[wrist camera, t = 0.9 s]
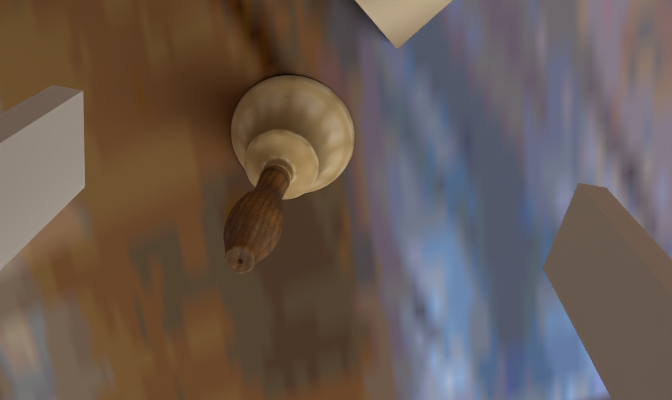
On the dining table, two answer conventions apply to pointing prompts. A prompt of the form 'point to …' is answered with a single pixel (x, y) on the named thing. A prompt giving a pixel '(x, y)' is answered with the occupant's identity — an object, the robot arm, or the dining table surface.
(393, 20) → the stand
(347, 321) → the dining table surface
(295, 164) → the hand bell
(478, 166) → the dining table surface
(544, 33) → the dining table surface
